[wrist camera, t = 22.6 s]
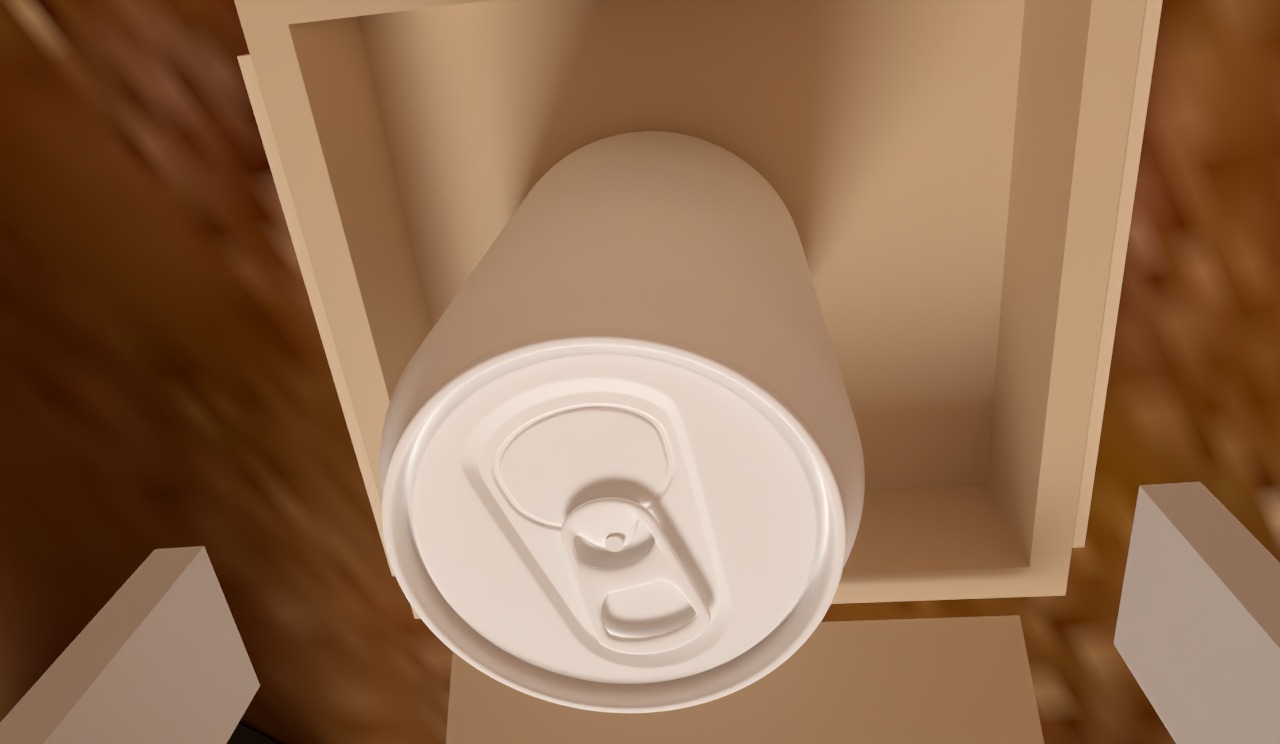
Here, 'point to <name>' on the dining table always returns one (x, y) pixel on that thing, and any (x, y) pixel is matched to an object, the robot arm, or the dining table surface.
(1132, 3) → the carton
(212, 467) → the dining table surface
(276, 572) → the dining table surface
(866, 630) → the flap
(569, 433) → the beverage can
